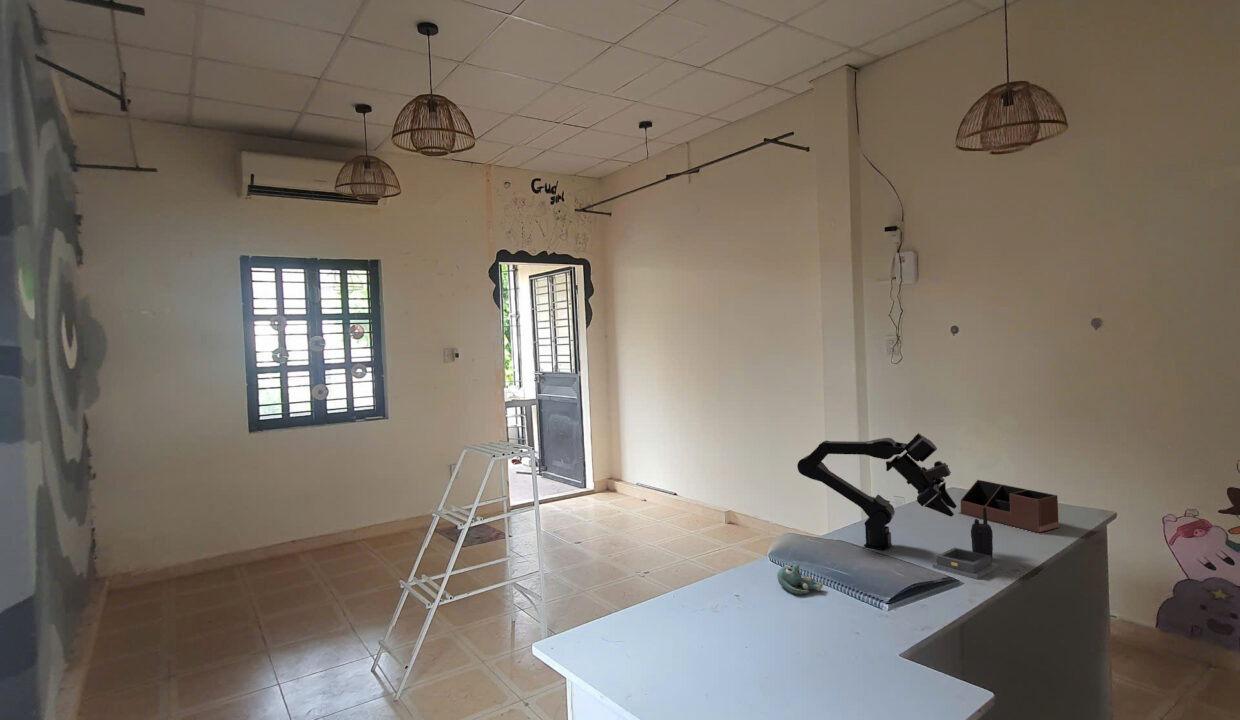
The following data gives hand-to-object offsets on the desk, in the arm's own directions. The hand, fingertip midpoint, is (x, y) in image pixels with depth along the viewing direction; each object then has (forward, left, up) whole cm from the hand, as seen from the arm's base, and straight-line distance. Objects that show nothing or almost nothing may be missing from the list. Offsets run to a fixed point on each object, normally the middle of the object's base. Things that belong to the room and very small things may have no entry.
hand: (954, 511), depth 186 cm
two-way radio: (+7, +2, -13) cm, 15 cm away
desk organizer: (+3, +45, -14) cm, 47 cm away
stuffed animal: (-24, -48, -14) cm, 56 cm away
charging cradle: (+5, -9, -13) cm, 17 cm away
